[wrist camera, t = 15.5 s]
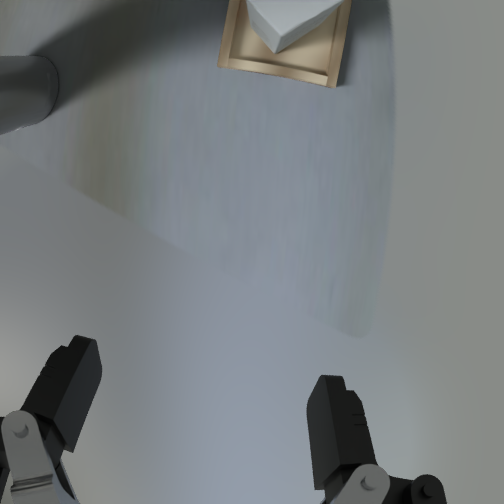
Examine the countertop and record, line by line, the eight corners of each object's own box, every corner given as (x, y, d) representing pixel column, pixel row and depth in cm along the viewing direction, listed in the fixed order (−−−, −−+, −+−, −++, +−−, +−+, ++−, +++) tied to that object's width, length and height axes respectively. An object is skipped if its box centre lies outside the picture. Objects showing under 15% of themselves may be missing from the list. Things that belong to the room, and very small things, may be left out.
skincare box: (293, -3, 26) (311, -44, 15) (319, 26, 27) (350, -2, 17) (247, 27, 27) (243, -4, 17) (273, 56, 29) (282, 39, 18)
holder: (219, 67, 30) (216, 66, 28) (238, -30, 24) (237, -36, 23) (331, 88, 31) (335, 88, 29) (349, -8, 25) (353, -12, 23)
